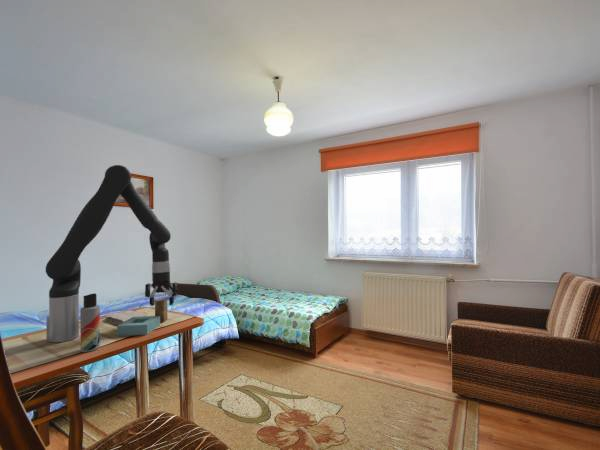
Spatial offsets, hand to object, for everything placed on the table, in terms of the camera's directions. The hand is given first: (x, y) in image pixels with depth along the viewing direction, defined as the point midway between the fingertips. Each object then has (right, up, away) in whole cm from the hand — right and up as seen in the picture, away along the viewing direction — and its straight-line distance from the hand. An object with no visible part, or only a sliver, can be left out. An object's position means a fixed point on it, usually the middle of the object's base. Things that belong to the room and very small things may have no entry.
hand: (161, 305), depth 136 cm
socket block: (-4, -7, -12) cm, 15 cm away
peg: (0, -8, 0) cm, 7 cm away
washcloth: (-19, -9, +4) cm, 22 cm away
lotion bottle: (-11, -7, -31) cm, 34 cm away
